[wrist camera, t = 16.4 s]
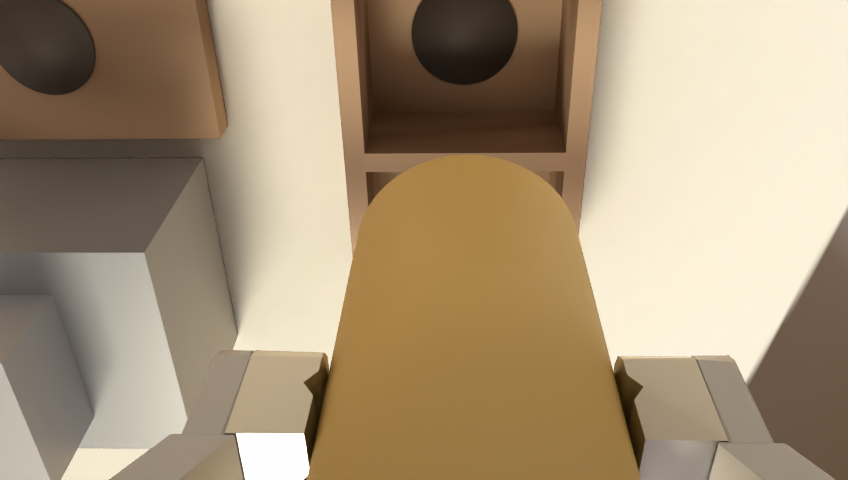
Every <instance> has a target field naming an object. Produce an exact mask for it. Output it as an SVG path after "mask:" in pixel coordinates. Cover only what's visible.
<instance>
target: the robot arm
mask: <svg viewBox="0 0 848 480" xmlns="http://www.w3.org/2000/svg"><path fill="white" fill-rule="evenodd" d="M613 373H614V377H615V381H616V385H617V389H618V392H619V396H620V400H621V404H622V408H623V412H624V416H625V420H626V424H627V428H628V431H629V435H630V439H631V443H632V447H633V451H634V455H635V459H636V463H637V467H638V470H639V474H640V478H641V480H835V479H834V478H832V477H831V476H829V475H828V474H827V473H825V472H824V471H823V470H821V469H820V468H818V467H817V466H816V465H814V464H813V463H811V462H810V461H809V460H807V459H806V458H805V457H803V456H802V455H800V454H799V453H798V452H796V451H795V450H794V449H792V448H791V447H789V446H788V445H787V444H780V443H774V442H773V440H772V438H771V436H770V434H769V432H768V430H767V427H766V425H765V423H764V421H763V419H762V417H761V415H760V413H759V411H758V408H757V406H756V404H755V403H754V400H753V398H752V396H751V394H750V392H749V390H748V387H747V385H746V383H745V381H744V379H743V377H742V375H741V373H740V371H739V368H738V366H737V364H736V362H735V360H734V359H732V358H731V357H730V356H691V357H672V356H618V357H617V360H616V362H615V366H614V372H613ZM328 375H329V365H328V358H327V355H326V354H325V353H318V352H289V351H260V350H256V351H242V350H220V351H219V352H218V353H216V354H215V355H214V357H213V359H212V361H211V363H210V366H209V368H208V371H207V373H206V376H205V378H204V380H203V383H202V385H201V388H200V390H199V393H198V395H197V397H196V400H195V402H194V405H193V407H192V409H191V412H190V414H189V417H188V419H187V422H186V424H185V426H184V429H183V431H182V434H170V435H169V436H167V437H166V438H165V439H163V440H162V441H161V442H159V443H158V444H157V445H155V446H154V447H153V448H151V449H150V450H149V451H147V452H146V453H144V454H143V455H142V456H140V457H139V458H138V459H136V460H135V461H134V462H132V463H131V464H130V465H128V466H127V467H126V468H124V469H123V470H122V471H120V472H119V473H118V474H116V475H115V476H114V477H112V478H111V479H109V480H307V476H308V471H309V466H310V462H311V457H312V452H313V447H314V442H315V438H316V433H317V428H318V423H319V418H320V414H321V409H322V404H323V399H324V394H325V390H326V385H327V380H328Z"/></svg>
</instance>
